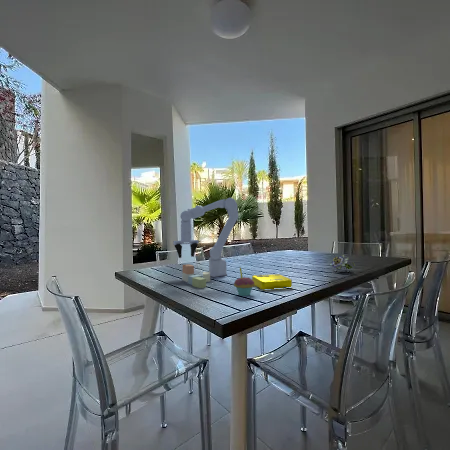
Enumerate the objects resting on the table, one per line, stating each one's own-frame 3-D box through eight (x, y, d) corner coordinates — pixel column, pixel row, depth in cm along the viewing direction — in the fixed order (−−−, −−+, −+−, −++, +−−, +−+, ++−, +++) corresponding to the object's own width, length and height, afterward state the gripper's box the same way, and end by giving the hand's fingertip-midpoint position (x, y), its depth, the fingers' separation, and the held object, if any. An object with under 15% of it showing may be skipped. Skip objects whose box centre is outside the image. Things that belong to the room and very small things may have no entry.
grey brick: (182, 280, 152) (182, 272, 152) (188, 279, 154) (188, 271, 154) (187, 282, 147) (187, 274, 147) (193, 281, 149) (193, 273, 149)
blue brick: (197, 282, 147) (197, 274, 147) (202, 283, 145) (202, 275, 145) (188, 284, 143) (188, 276, 143) (192, 285, 141) (192, 277, 140)
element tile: (262, 291, 129) (262, 280, 129) (250, 284, 143) (250, 274, 143) (293, 289, 133) (293, 278, 133) (278, 282, 147) (278, 273, 147)
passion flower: (336, 280, 174) (324, 263, 179) (348, 275, 179) (336, 258, 184) (348, 272, 165) (336, 254, 170) (360, 267, 170) (348, 250, 175)
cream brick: (203, 279, 154) (203, 272, 154) (209, 279, 154) (209, 271, 154) (203, 282, 148) (203, 274, 148) (210, 281, 148) (210, 274, 148)
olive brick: (192, 286, 139) (192, 277, 139) (198, 285, 141) (198, 276, 141) (200, 288, 134) (200, 279, 134) (206, 287, 137) (206, 278, 136)
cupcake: (240, 298, 117) (240, 268, 117) (230, 293, 125) (230, 265, 124) (258, 295, 121) (258, 266, 121) (247, 291, 129) (247, 263, 128)
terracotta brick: (193, 273, 149) (193, 265, 149) (187, 274, 147) (187, 266, 147) (188, 271, 154) (188, 264, 154) (182, 272, 152) (182, 264, 152)
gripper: (194, 232, 170) (194, 255, 170) (170, 232, 162) (171, 257, 162) (200, 232, 164) (200, 256, 165) (176, 233, 156) (176, 258, 156)
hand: (186, 257), depth 163 cm, fingers open, 7 cm apart
